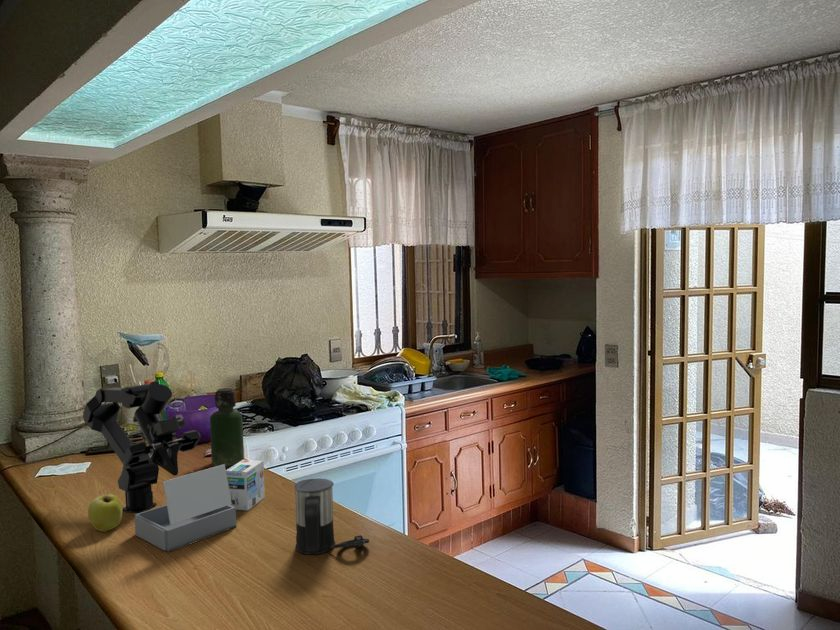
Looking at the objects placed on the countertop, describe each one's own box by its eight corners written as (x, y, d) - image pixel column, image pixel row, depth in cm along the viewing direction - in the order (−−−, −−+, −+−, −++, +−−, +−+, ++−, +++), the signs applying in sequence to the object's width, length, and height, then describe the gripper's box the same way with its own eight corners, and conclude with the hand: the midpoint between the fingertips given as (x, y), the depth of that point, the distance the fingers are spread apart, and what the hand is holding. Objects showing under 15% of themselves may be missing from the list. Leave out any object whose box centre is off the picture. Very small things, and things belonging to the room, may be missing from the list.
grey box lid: (170, 524, 146) (163, 481, 147) (230, 504, 158) (223, 464, 159) (171, 524, 145) (164, 481, 146) (231, 504, 158) (224, 464, 158)
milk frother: (291, 542, 149) (289, 480, 148) (355, 530, 156) (354, 471, 154) (305, 567, 136) (303, 501, 135) (374, 553, 142) (372, 489, 141)
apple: (81, 534, 156) (79, 494, 155) (107, 521, 163) (105, 484, 163) (105, 538, 153) (103, 498, 153) (131, 525, 161) (129, 487, 160)
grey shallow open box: (133, 534, 155) (132, 514, 155) (202, 511, 170) (201, 493, 169) (167, 552, 145) (166, 531, 144) (237, 526, 159) (236, 507, 159)
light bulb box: (248, 511, 169) (246, 472, 168) (225, 509, 170) (223, 470, 170) (265, 497, 179) (264, 460, 179) (243, 495, 181) (242, 459, 180)
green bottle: (215, 459, 217) (212, 387, 215) (246, 457, 218) (243, 386, 216) (208, 468, 206) (205, 393, 204) (241, 467, 207) (238, 392, 206)
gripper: (125, 413, 153) (150, 465, 147) (195, 399, 168) (220, 447, 161) (112, 439, 159) (135, 491, 153) (181, 424, 173) (205, 471, 167)
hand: (176, 474), depth 158 cm, fingers closed
